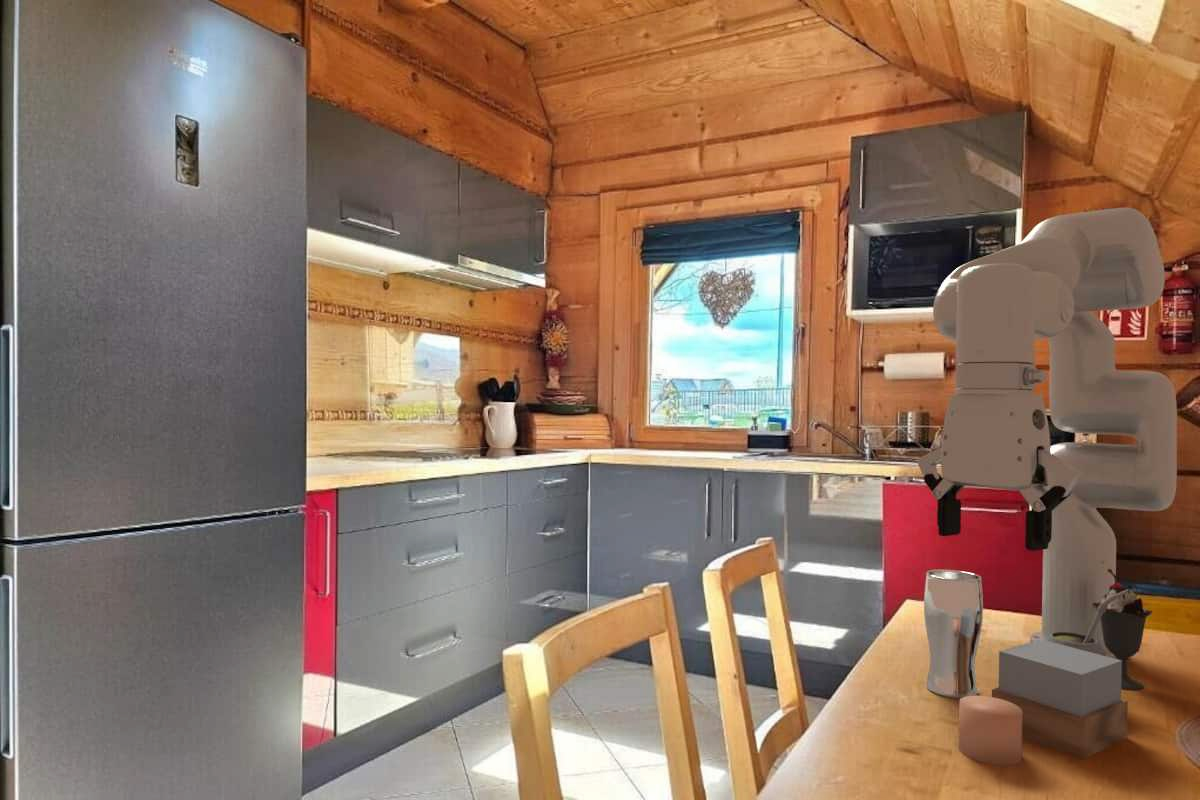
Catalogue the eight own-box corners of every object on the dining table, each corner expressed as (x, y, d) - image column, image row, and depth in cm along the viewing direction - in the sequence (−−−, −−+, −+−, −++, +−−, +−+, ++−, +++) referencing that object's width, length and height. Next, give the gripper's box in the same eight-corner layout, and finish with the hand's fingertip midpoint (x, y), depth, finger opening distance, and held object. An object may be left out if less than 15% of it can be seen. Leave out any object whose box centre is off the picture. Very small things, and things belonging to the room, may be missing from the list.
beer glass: (988, 702, 98) (990, 582, 98) (928, 697, 100) (930, 578, 100) (973, 683, 105) (975, 570, 105) (918, 678, 106) (919, 567, 106)
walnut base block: (1036, 711, 97) (1036, 674, 97) (1126, 740, 88) (1127, 700, 88) (991, 728, 91) (991, 689, 91) (1083, 762, 83) (1084, 719, 83)
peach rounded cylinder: (978, 736, 88) (979, 691, 88) (1032, 757, 83) (1033, 710, 83) (947, 748, 85) (948, 702, 85) (1001, 771, 80) (1002, 721, 80)
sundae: (1095, 671, 111) (1096, 564, 111) (1153, 682, 106) (1155, 571, 106) (1087, 683, 106) (1089, 571, 106) (1148, 696, 101) (1150, 579, 101)
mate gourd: (1029, 690, 103) (1031, 575, 103) (1089, 691, 103) (1090, 576, 103) (1064, 713, 95) (1066, 589, 95) (1128, 713, 95) (1130, 589, 95)
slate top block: (1039, 676, 96) (1040, 639, 96) (1120, 700, 88) (1121, 660, 88) (998, 690, 91) (999, 651, 91) (1081, 717, 84) (1081, 674, 83)
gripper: (1098, 381, 79) (1095, 552, 79) (941, 383, 94) (938, 528, 93) (1059, 379, 75) (1056, 559, 75) (901, 381, 89) (899, 532, 89)
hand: (991, 541), depth 84 cm, fingers open, 9 cm apart
